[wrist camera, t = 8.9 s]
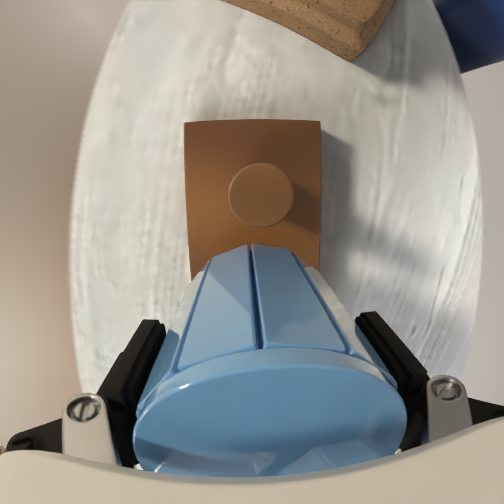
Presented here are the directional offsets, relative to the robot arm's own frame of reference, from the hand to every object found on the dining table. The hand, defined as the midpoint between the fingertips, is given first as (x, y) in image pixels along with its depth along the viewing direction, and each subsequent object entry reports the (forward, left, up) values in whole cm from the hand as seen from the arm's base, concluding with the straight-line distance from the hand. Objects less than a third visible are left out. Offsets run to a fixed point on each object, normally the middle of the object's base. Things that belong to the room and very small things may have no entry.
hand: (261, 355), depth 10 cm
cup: (0, 0, -3) cm, 3 cm away
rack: (0, 0, -8) cm, 8 cm away
